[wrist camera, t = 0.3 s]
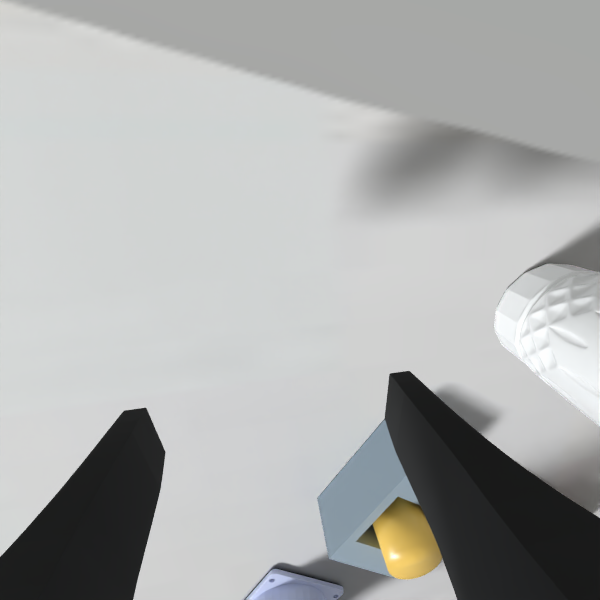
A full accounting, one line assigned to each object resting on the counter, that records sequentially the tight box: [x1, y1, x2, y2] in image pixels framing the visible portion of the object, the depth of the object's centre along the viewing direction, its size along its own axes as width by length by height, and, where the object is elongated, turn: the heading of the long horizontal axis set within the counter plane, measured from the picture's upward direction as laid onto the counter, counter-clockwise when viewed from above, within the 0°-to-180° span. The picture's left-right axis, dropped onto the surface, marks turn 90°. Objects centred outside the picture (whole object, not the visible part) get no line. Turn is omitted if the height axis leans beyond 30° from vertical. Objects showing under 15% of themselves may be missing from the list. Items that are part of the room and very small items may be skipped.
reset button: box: [373, 497, 442, 579], centre depth 22 cm, size 4×4×4 cm
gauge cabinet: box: [317, 419, 420, 578], centre depth 25 cm, size 9×6×4 cm, turn 147°
